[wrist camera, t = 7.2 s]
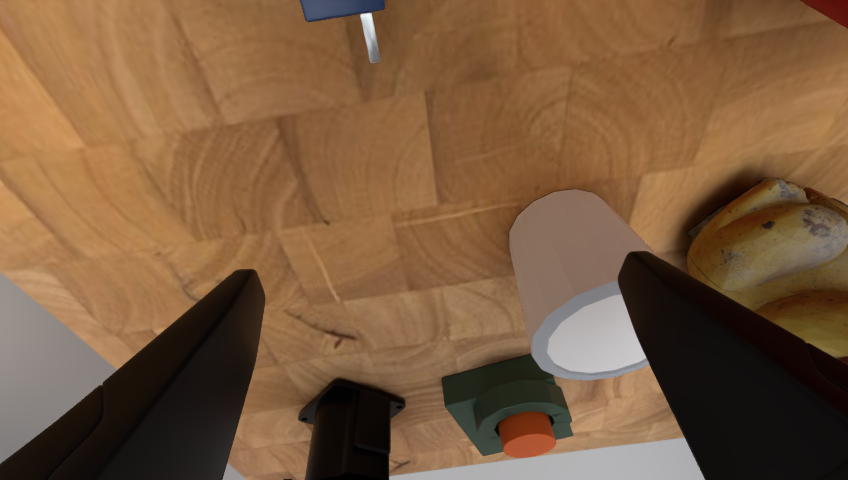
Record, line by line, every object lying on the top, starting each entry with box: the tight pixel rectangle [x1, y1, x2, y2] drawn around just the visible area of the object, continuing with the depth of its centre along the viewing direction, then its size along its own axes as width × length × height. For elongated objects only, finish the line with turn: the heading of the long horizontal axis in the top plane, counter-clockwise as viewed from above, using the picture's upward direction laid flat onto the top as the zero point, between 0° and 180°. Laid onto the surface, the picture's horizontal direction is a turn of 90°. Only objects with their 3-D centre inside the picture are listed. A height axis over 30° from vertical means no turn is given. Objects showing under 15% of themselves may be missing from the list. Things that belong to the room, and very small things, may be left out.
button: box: [498, 412, 556, 458], centre depth 27 cm, size 4×4×2 cm
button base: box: [442, 354, 573, 456], centre depth 31 cm, size 11×8×4 cm
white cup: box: [509, 189, 660, 381], centre depth 19 cm, size 7×7×7 cm
